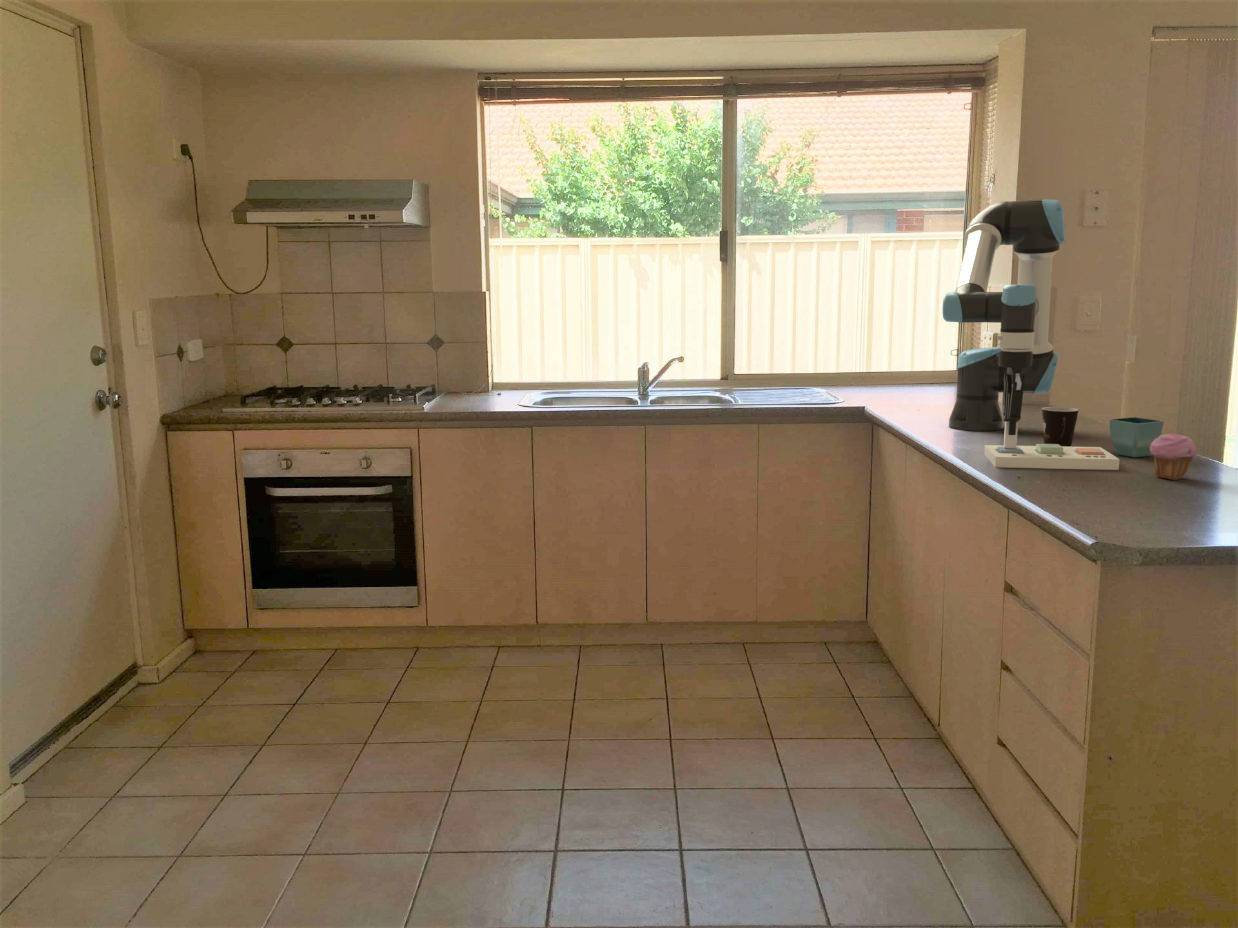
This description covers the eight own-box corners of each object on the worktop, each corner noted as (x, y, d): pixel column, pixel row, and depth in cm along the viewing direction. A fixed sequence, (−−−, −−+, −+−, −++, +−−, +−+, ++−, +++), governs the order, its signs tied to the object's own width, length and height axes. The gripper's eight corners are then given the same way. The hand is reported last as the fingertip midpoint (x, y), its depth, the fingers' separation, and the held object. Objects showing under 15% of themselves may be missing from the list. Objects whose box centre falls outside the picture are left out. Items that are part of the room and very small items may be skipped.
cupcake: (1139, 476, 220) (1143, 432, 218) (1166, 472, 223) (1170, 429, 221) (1175, 483, 212) (1179, 438, 210) (1202, 479, 215) (1207, 434, 213)
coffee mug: (1045, 443, 262) (1047, 406, 260) (1079, 446, 257) (1082, 408, 255) (1031, 449, 253) (1034, 411, 251) (1066, 453, 248) (1069, 413, 246)
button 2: (1035, 454, 240) (1036, 443, 239) (1057, 455, 239) (1058, 444, 238) (1040, 458, 235) (1040, 447, 234) (1062, 458, 234) (1063, 447, 233)
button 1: (996, 457, 242) (997, 446, 241) (1018, 457, 241) (1018, 446, 240) (1000, 461, 237) (1000, 450, 236) (1022, 461, 236) (1022, 450, 235)
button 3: (1074, 458, 238) (1075, 448, 238) (1097, 459, 237) (1097, 448, 237) (1080, 462, 233) (1081, 451, 233) (1102, 463, 232) (1103, 452, 232)
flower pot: (1105, 454, 246) (1108, 418, 244) (1131, 451, 249) (1134, 416, 247) (1134, 460, 238) (1137, 423, 236) (1161, 457, 241) (1165, 421, 239)
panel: (984, 454, 247) (984, 444, 247) (1099, 457, 242) (1100, 446, 242) (995, 467, 232) (995, 456, 231) (1118, 469, 227) (1119, 458, 226)
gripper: (994, 348, 241) (989, 442, 245) (1004, 352, 228) (998, 452, 233) (1027, 348, 239) (1021, 443, 244) (1038, 352, 227) (1031, 452, 231)
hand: (1009, 447), depth 238 cm, fingers closed
